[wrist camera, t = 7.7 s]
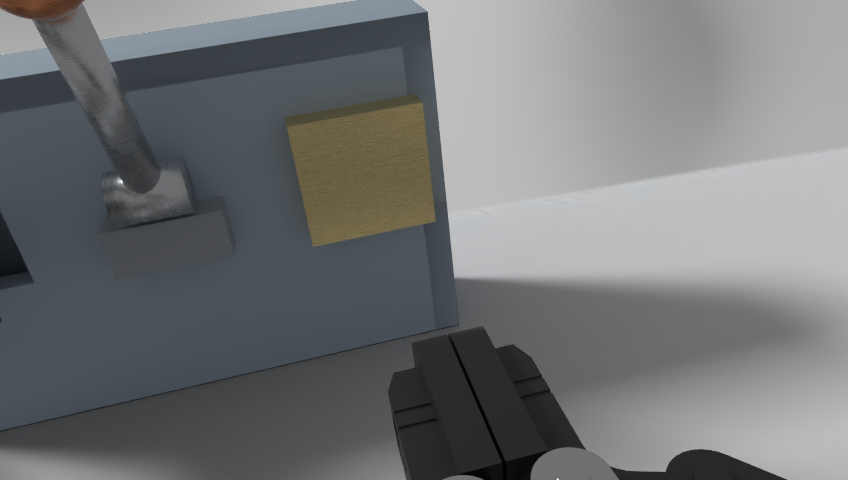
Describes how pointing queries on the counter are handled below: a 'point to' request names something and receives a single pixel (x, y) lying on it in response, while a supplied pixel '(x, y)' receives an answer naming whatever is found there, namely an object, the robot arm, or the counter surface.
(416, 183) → the tan square block
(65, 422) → the counter surface
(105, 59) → the lever
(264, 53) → the block
